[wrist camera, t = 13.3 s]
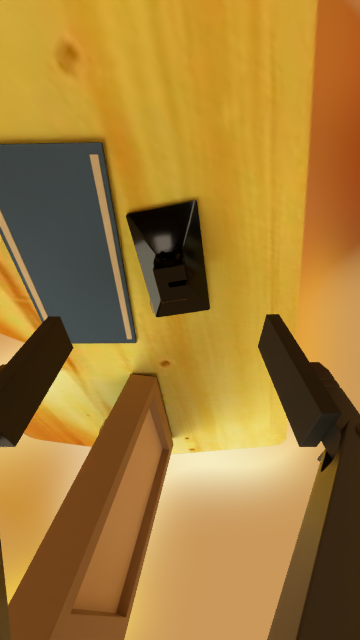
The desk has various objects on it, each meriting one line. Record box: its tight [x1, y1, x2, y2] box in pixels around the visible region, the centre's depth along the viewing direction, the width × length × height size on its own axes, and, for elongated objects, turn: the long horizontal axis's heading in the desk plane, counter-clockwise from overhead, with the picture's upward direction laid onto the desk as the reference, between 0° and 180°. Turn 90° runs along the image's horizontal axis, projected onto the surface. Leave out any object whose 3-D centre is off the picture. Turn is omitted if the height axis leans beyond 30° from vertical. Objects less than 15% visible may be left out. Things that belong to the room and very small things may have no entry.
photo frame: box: [8, 374, 173, 640], centre depth 31 cm, size 15×22×25 cm
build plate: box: [126, 200, 210, 317], centre depth 23 cm, size 12×7×5 cm, turn 10°
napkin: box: [0, 142, 137, 343], centre depth 24 cm, size 22×12×1 cm, turn 1°
